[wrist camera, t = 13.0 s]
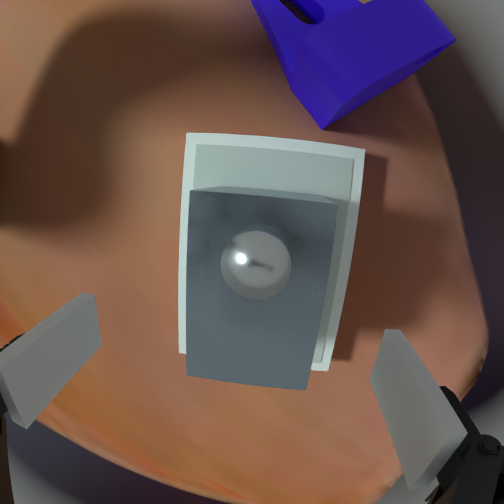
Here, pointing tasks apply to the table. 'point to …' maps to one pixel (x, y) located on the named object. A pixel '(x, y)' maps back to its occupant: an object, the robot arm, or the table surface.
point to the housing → (256, 283)
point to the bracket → (350, 49)
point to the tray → (281, 179)
